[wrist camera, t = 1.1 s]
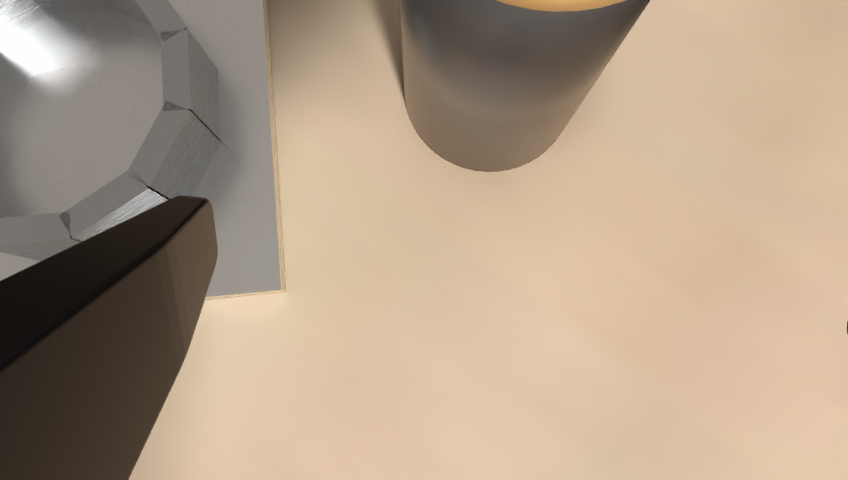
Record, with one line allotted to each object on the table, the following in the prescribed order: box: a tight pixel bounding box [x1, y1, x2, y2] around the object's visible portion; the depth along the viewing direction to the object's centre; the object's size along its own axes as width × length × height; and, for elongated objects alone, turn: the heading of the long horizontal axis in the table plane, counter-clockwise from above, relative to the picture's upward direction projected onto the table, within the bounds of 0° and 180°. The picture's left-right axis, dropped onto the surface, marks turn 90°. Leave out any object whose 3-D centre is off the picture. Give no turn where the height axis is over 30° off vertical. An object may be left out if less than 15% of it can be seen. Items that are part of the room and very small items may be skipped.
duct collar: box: [0, 0, 286, 300], centre depth 21 cm, size 13×13×4 cm
